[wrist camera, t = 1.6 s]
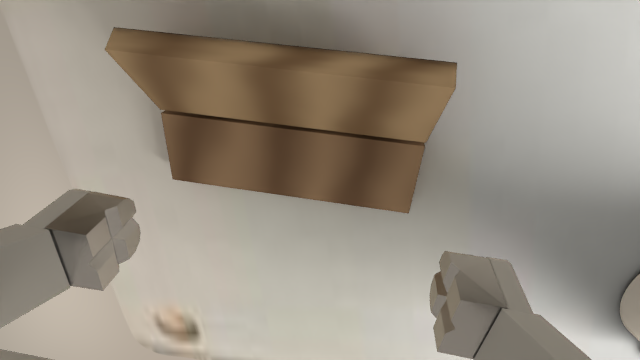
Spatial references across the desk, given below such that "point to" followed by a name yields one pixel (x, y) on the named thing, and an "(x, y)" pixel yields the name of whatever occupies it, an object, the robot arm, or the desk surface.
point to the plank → (287, 83)
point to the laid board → (293, 160)
